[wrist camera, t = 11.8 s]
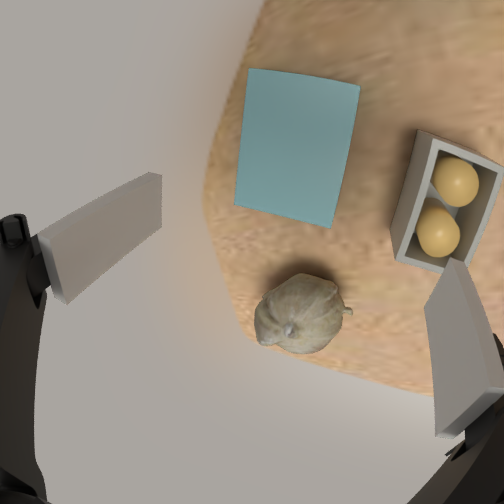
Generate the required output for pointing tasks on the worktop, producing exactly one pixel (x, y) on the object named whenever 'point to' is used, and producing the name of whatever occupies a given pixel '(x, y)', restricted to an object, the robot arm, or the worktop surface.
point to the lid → (294, 144)
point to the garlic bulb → (300, 314)
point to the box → (443, 203)
